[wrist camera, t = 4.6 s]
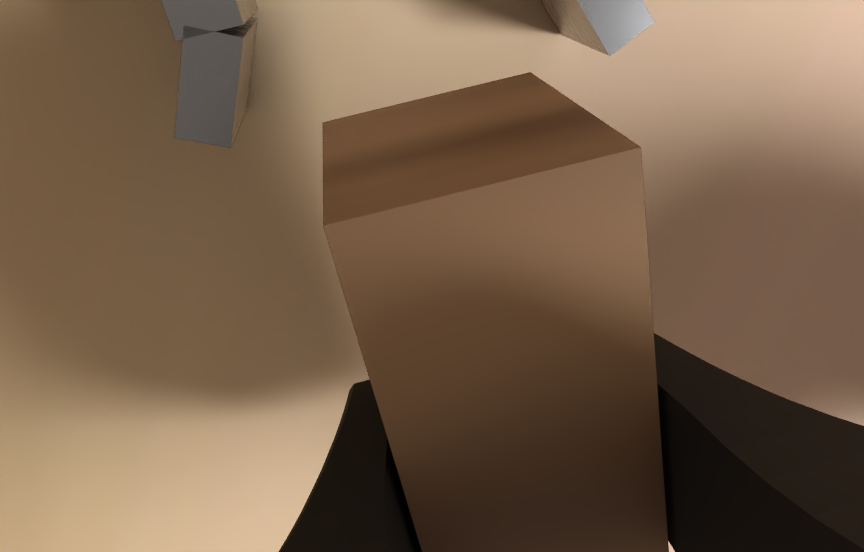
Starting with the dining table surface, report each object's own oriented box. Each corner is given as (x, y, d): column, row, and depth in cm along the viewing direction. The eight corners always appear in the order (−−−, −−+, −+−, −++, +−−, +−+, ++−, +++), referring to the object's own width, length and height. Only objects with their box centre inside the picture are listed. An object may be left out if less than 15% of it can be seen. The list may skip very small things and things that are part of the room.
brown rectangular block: (322, 122, 11) (323, 225, 7) (530, 72, 12) (640, 147, 8) (442, 546, 16) (482, 751, 12) (590, 507, 16) (678, 697, 12)
